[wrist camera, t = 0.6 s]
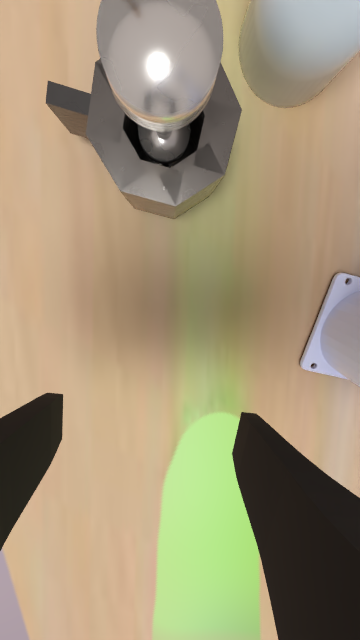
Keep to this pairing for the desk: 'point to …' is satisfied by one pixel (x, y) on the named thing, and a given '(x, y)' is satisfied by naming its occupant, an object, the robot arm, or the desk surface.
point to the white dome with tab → (297, 47)
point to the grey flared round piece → (161, 66)
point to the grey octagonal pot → (128, 155)
